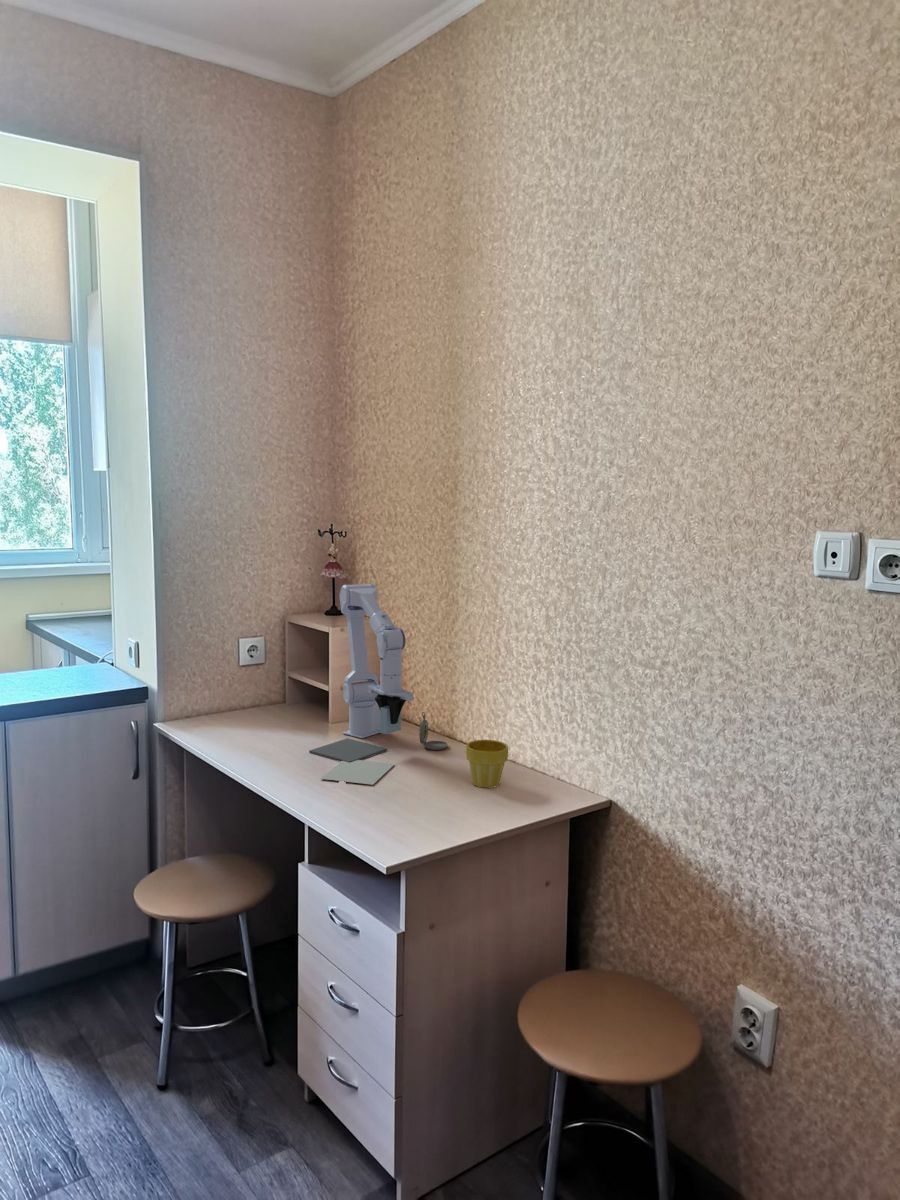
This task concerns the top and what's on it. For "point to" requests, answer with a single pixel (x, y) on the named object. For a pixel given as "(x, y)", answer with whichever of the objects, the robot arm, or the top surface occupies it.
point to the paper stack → (358, 771)
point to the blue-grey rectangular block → (388, 721)
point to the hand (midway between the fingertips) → (390, 722)
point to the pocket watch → (424, 733)
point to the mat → (347, 750)
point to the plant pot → (486, 761)
